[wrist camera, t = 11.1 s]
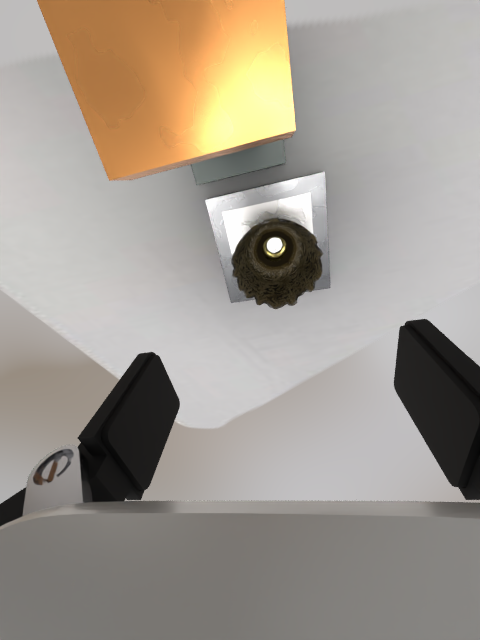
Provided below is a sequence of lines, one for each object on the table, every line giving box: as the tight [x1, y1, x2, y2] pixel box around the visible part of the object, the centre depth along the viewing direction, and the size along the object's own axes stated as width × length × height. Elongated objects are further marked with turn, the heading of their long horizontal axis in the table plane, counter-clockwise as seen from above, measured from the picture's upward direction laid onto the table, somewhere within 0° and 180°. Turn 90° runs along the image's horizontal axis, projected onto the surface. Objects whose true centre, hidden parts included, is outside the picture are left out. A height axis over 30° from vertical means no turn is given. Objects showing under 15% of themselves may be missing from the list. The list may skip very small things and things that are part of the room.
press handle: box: [37, 0, 296, 181], centre depth 14 cm, size 8×8×12 cm
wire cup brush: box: [231, 218, 323, 309], centre depth 24 cm, size 8×7×8 cm
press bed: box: [205, 172, 330, 303], centre depth 28 cm, size 12×12×2 cm
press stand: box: [191, 140, 286, 185], centre depth 19 cm, size 9×9×12 cm
